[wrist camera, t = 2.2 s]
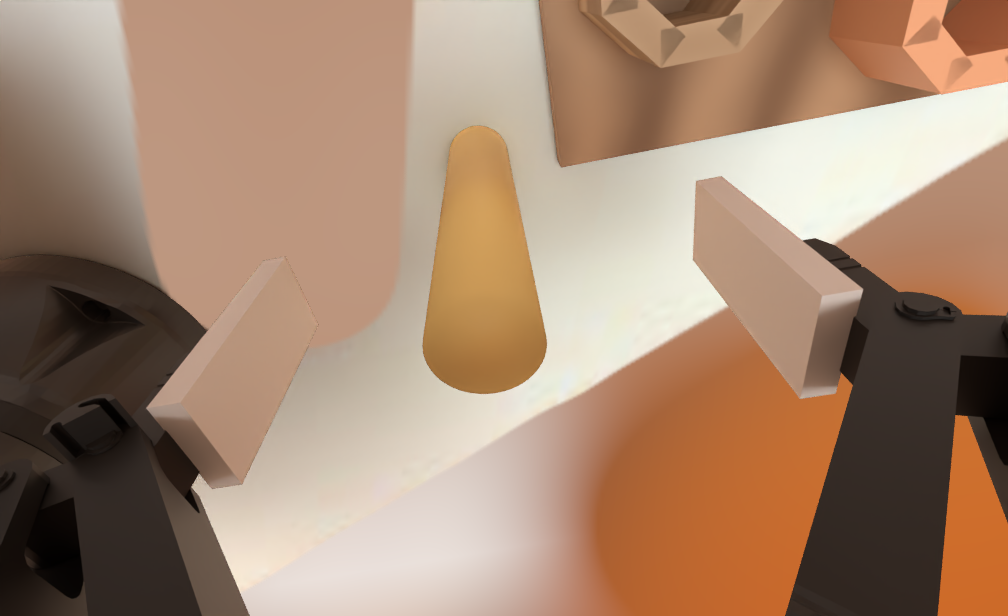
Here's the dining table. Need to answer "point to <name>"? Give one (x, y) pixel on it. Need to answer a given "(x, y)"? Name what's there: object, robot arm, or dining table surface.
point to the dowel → (482, 275)
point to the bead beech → (679, 27)
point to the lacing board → (698, 83)
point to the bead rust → (925, 41)
